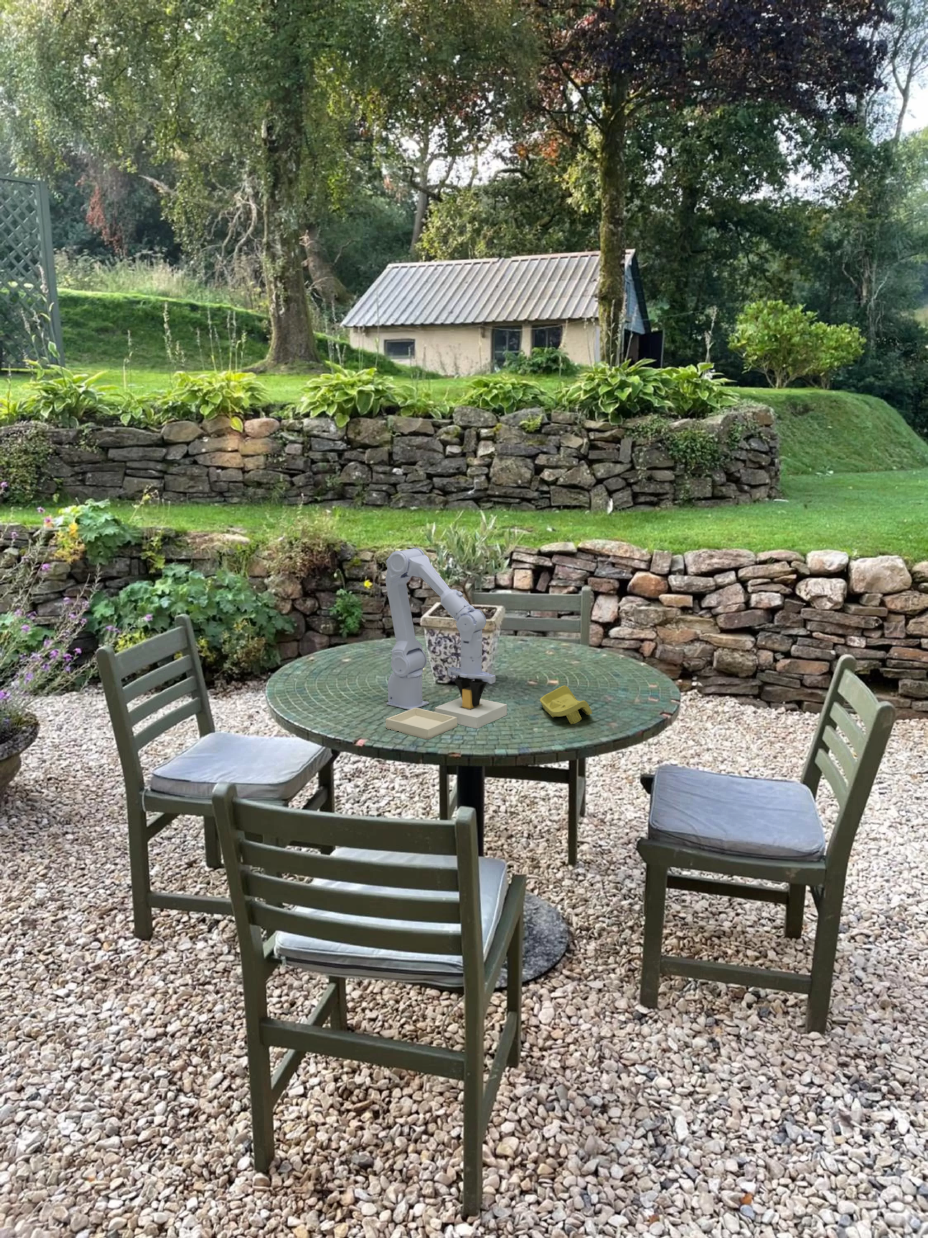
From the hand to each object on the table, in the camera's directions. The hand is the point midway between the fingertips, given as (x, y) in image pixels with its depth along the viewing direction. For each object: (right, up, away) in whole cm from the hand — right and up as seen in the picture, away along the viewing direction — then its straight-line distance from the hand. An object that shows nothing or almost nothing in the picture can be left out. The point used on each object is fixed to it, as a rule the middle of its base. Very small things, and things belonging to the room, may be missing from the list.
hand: (471, 704), depth 223 cm
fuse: (0, -3, +1) cm, 3 cm away
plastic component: (+26, -4, +1) cm, 26 cm away
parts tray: (-13, -5, -8) cm, 16 cm away
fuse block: (0, -3, +1) cm, 3 cm away
